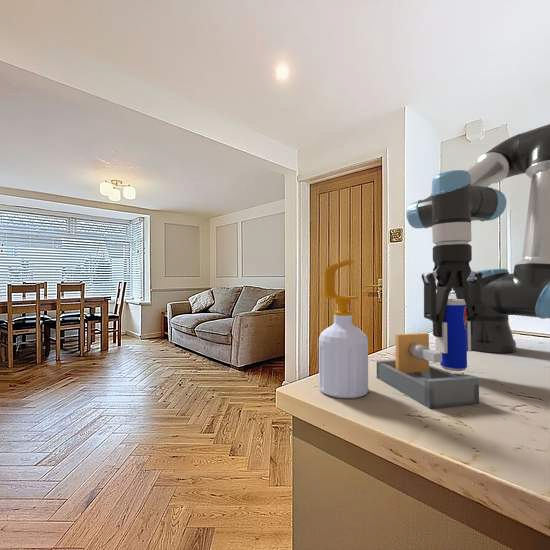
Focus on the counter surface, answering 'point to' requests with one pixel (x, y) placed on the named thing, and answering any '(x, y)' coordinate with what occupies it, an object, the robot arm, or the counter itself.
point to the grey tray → (431, 385)
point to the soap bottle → (342, 348)
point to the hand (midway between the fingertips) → (453, 350)
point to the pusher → (414, 353)
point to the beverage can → (455, 336)
